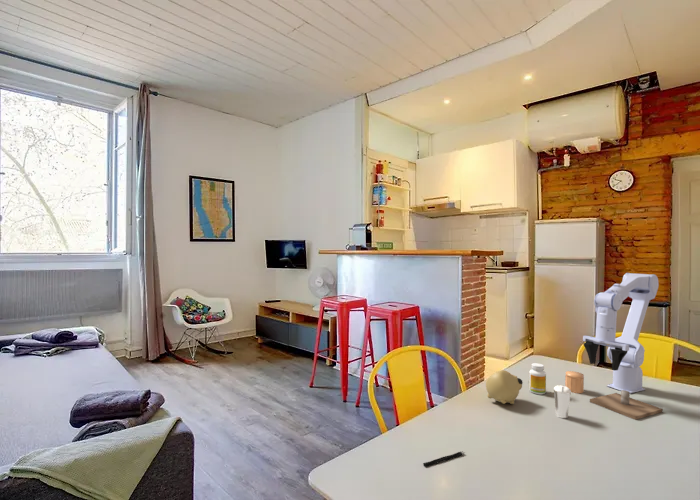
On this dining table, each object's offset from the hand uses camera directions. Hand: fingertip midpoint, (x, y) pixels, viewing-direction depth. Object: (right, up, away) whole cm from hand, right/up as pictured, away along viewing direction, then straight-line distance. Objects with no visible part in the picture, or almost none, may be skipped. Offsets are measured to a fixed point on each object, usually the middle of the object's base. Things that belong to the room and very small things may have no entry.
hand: (603, 366), depth 131 cm
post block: (+2, -11, -8) cm, 13 cm away
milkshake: (-23, -11, -16) cm, 30 cm away
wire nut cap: (-7, -10, +6) cm, 14 cm away
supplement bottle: (-21, -10, +4) cm, 24 cm away
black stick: (-65, -11, -40) cm, 77 cm away
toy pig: (-37, -10, -5) cm, 38 cm away
